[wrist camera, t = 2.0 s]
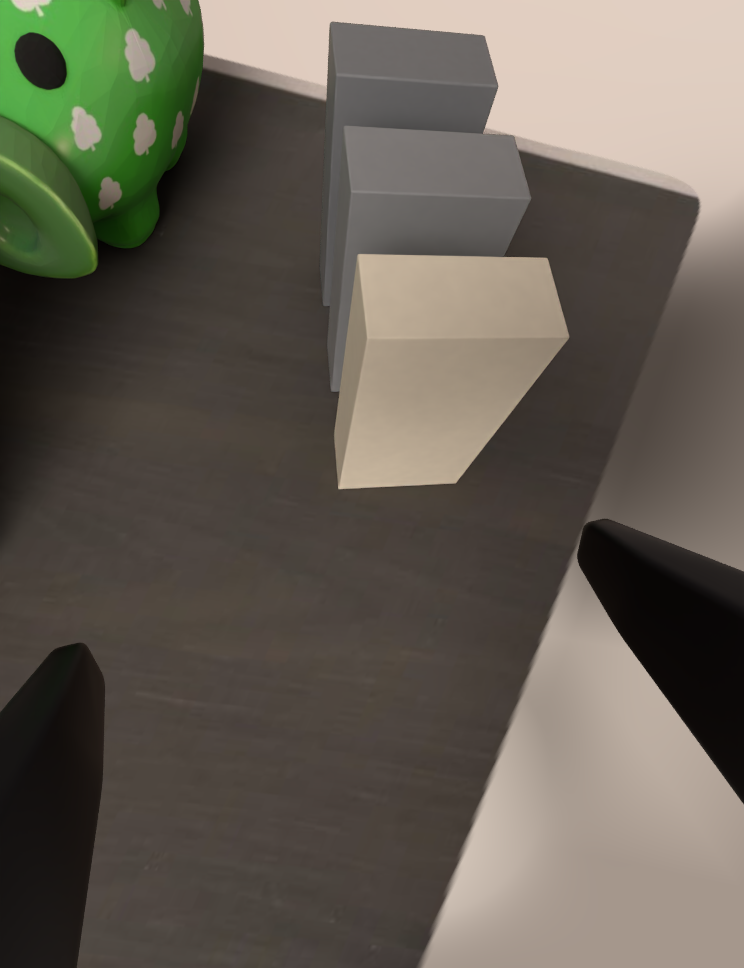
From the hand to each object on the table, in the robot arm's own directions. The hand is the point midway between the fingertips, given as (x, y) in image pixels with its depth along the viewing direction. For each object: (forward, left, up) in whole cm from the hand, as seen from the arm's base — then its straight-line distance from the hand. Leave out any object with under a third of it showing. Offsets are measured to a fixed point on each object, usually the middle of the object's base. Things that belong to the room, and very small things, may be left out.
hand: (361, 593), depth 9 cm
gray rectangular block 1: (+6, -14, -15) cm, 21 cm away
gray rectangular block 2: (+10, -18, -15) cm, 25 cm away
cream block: (+2, -9, -15) cm, 17 cm away
